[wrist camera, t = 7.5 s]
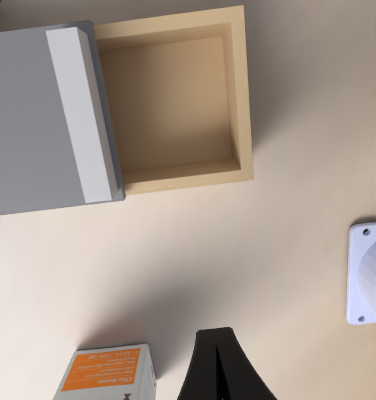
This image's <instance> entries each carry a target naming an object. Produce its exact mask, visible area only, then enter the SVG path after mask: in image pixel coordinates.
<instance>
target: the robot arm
mask: <svg viewBox="0 0 376 400" xmlns="http://www.w3.org/2000/svg"><path fill="white" fill-rule="evenodd" d="M365 229H368V230H367V232H366V233H363V231H364V230H365ZM360 316H362V317H361V318H359V317H360ZM346 320H347V321H348V322H349V324H351V325H357V324H366V323H375V322H376V222H372V223H363V224H356V225H354V226H352V227H351V228H350V231H349V251H348V275H347V300H346ZM222 398H223V400H277V399H276V398H275V396H274V395H273V394H272V393H271V391H270V390H269V389H268V387H267V386H266V385H265V383H264V382H263V381H262V379H261V378H260V376H259V375H258V374H257V372H256V371H255V369H254V368H253V366H252V365H251V363H250V361H249V360H248V358H247V357H246V355H245V353H244V352H243V350H242V348H241V346H240V344H239V343H238V341H237V339H236V336H235V334H234V332H233V329H232V328H230V327H224V328H215V329H206V330H199V331H198V332H197V333H196V340H195V346H194V351H193V355H192V359H191V362H190V365H189V368H188V372H187V375H186V378H185V381H184V383H183V386H182V388H181V391H180V394H179V396H178V399H177V400H222Z"/></svg>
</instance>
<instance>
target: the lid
mask: <svg viewBox="0 0 376 400" xmlns="http://www.w3.org/2000/svg"><path fill="white" fill-rule="evenodd" d="M125 198H126V194H125V189H124V183H123V178H122V173H121V168H120V162H119V157H118V152H117V147H116V141H115V136H114V131H113V125H112V120H111V115H110V110H109V104H108V99H107V94H106V89H105V83H104V78H103V73H102V68H101V62H100V57H99V52H98V47H97V41H96V36H95V31H94V26H93V23H92V22H91V21H90V20H87V21H79V22H72V23H64V24H57V25H49V26H42V27H34V28H27V29H19V30H12V31H4V32H0V215H6V214H14V213H23V212H31V211H39V210H48V209H56V208H64V207H73V206H81V205H89V204H98V203H106V202H115V201H123V200H124V199H125Z"/></svg>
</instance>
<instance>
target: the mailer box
mask: <svg viewBox="0 0 376 400" xmlns="http://www.w3.org/2000/svg"><path fill="white" fill-rule="evenodd" d="M93 26H94V31H95V36H96V41H97V47H98V52H99V57H100V62H101V68H102V73H103V78H104V83H105V89H106V94H107V99H108V104H109V110H110V115H111V120H112V125H113V131H114V136H115V141H116V147H117V152H118V157H119V162H120V168H121V173H122V178H123V183H124V189H125V194H126V195H132V194H140V193H149V192H157V191H165V190H173V189H182V188H190V187H198V186H207V185H215V184H223V183H232V182H240V181H248V180H254V175H253V158H252V140H251V123H250V106H249V89H248V72H247V54H246V37H245V20H244V5H240V6H233V7H225V8H218V9H210V10H203V11H195V12H188V13H180V14H173V15H165V16H158V17H150V18H143V19H135V20H128V21H120V22H113V23H105V24H98V25H93Z"/></svg>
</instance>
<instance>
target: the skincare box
mask: <svg viewBox="0 0 376 400" xmlns="http://www.w3.org/2000/svg"><path fill="white" fill-rule="evenodd" d="M156 385H157V383H156V379H155V374H154V369H153V364H152V360H151V355H150V350H149V345H148V344H147V343H144V344H139V345H131V346H122V347H114V348H104V349H93V350H82V351H75V352H74V354H73V356H72V358H71V361H70V363H69V365H68V367H67V369H66V372H65V374H64V376H63V378H62V380H61V383H60V385H59V387H58V390H57V392H56V394H55V396H54V398H53V400H155V396H156Z"/></svg>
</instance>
